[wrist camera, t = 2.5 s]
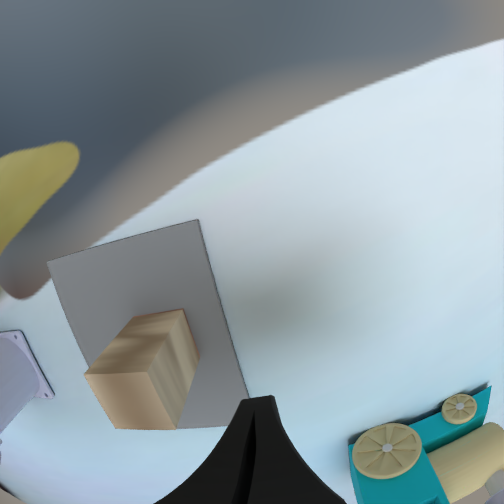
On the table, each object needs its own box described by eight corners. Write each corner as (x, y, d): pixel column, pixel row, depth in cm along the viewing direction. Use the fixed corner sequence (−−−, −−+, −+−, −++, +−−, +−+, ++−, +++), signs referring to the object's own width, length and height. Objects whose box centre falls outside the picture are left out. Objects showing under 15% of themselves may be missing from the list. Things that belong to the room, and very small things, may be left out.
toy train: (475, 422, 23) (528, 503, 9) (349, 473, 25) (373, 581, 10) (488, 375, 22) (562, 461, 7) (345, 433, 23) (380, 569, 9)
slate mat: (125, 424, 24) (124, 428, 23) (50, 260, 20) (46, 261, 19) (256, 418, 23) (256, 422, 22) (198, 219, 19) (196, 220, 18)
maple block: (151, 362, 21) (115, 428, 14) (133, 316, 20) (83, 374, 13) (200, 357, 21) (176, 429, 13) (183, 308, 20) (146, 371, 13)
